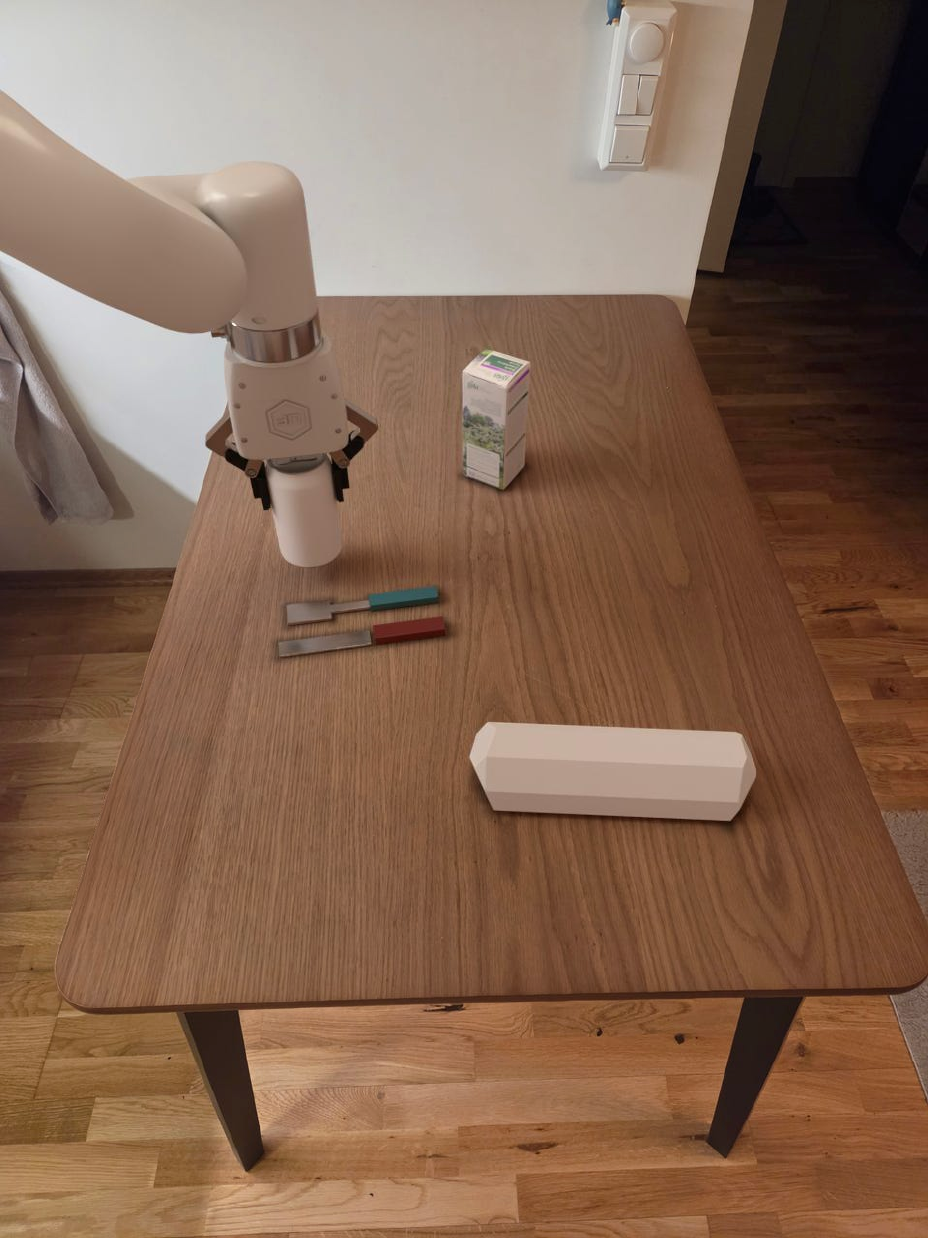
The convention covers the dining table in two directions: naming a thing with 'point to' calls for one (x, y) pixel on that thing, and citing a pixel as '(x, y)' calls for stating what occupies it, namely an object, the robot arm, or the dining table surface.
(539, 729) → the crystal
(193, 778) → the dining table surface
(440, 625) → the knife
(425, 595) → the teal handled spatula
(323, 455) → the can
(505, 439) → the syrup box
